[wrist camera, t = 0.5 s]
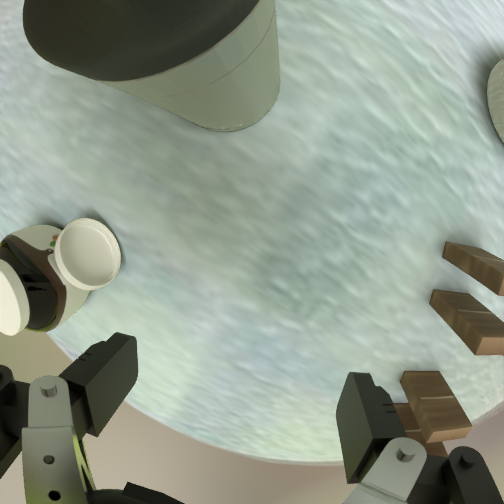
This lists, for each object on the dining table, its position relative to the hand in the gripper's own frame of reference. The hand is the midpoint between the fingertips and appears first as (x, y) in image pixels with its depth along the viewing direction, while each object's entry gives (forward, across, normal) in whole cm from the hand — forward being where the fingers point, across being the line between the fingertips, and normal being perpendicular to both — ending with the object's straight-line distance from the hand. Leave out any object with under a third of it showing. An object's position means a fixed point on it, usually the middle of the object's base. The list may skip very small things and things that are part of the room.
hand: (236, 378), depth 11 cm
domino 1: (+18, -20, -4) cm, 27 cm away
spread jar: (+18, +20, +2) cm, 27 cm away
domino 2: (+18, -20, +1) cm, 27 cm away
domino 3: (+19, -20, +11) cm, 29 cm away
